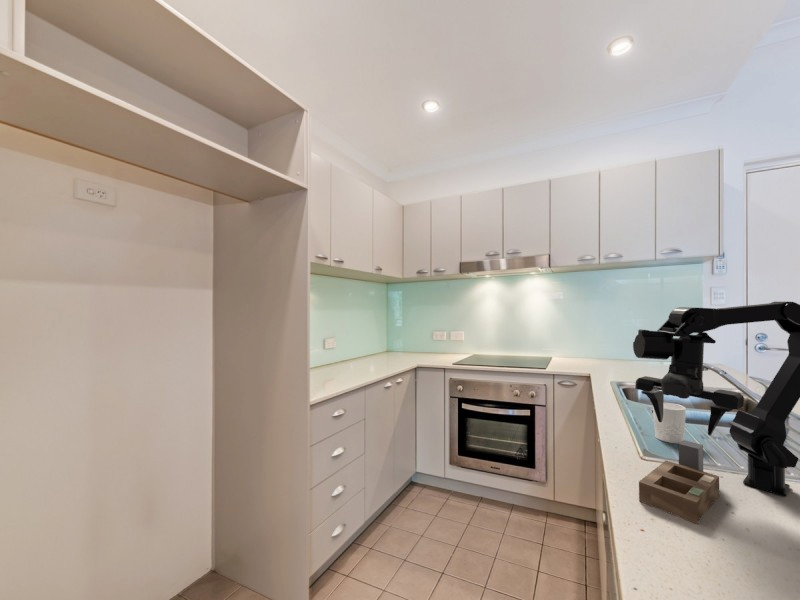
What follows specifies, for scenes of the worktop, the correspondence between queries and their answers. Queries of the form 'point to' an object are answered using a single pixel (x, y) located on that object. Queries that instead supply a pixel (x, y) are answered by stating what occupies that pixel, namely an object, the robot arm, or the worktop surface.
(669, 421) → the white cup
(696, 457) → the plug
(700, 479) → the socket block
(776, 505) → the worktop surface
